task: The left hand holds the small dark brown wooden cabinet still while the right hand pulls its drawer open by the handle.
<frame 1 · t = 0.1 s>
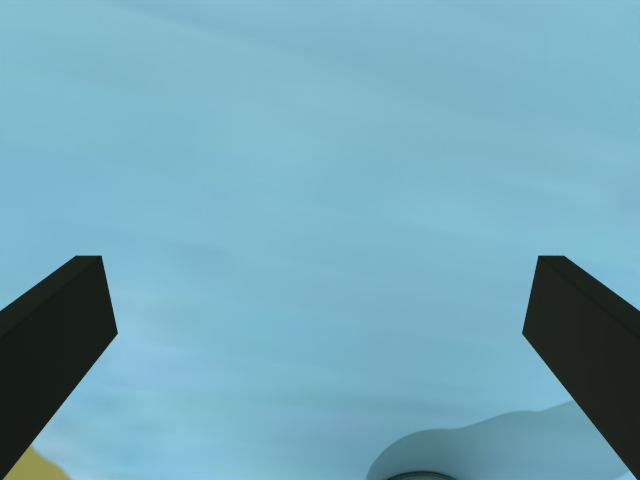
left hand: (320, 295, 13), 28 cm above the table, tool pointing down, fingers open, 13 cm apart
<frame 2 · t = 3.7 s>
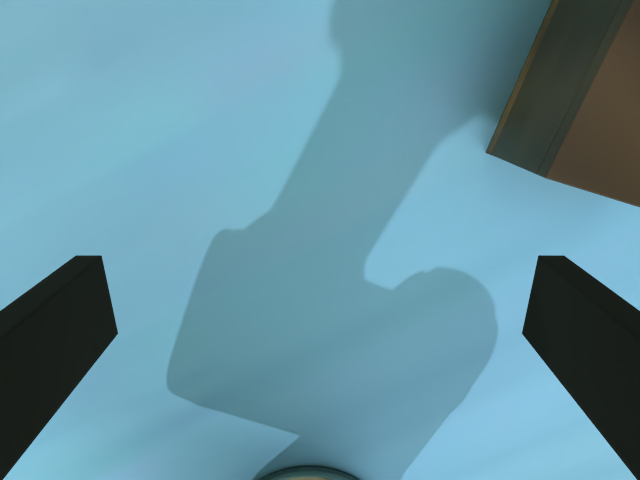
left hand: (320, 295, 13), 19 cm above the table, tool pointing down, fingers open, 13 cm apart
cabinet: (612, 56, 28), on the table
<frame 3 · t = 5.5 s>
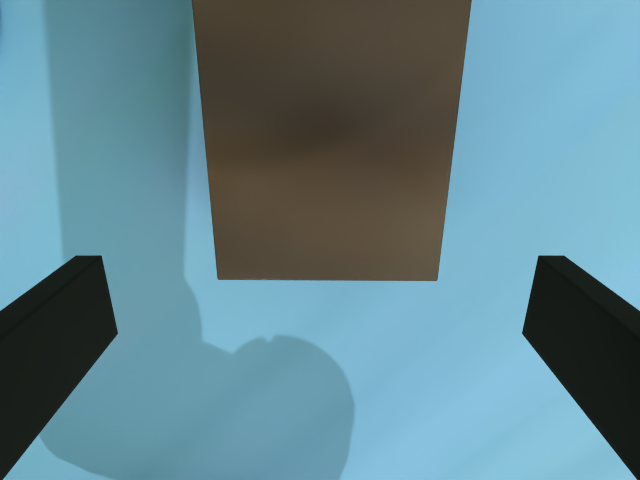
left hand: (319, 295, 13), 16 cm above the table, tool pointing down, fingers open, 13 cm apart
cabinet: (326, 96, 25), on the table
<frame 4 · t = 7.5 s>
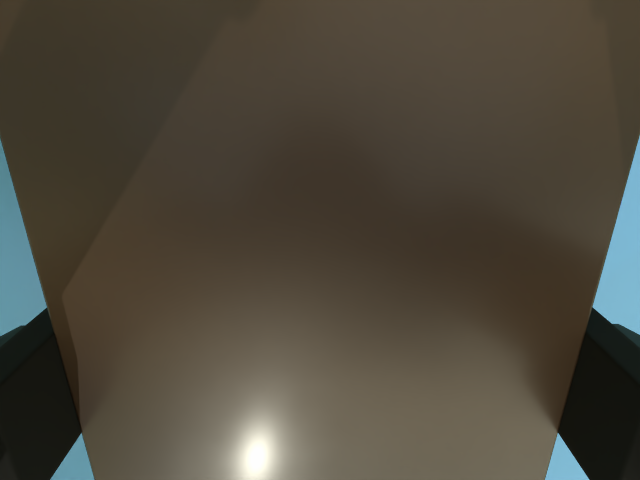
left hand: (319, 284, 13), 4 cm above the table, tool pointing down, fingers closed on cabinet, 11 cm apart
cabinet: (319, 113, 15), on the table, touching left hand
when the left hand's fingers open (4 cm above the table, at t = 12.1 s): cabinet stays where it is, on the table.
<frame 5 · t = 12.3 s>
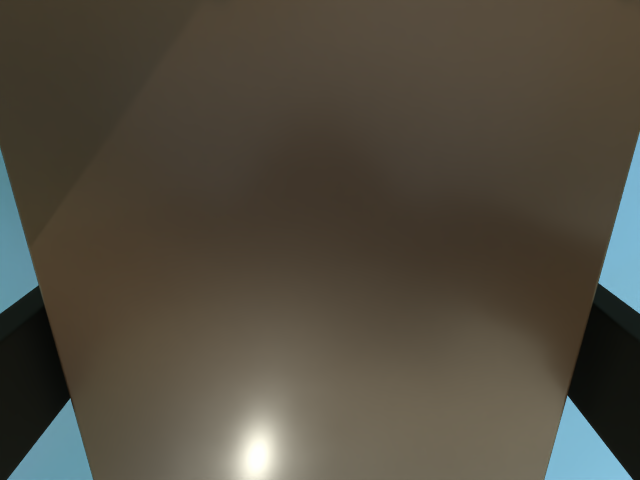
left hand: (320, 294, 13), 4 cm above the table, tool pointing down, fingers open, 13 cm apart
cabinet: (319, 115, 15), on the table
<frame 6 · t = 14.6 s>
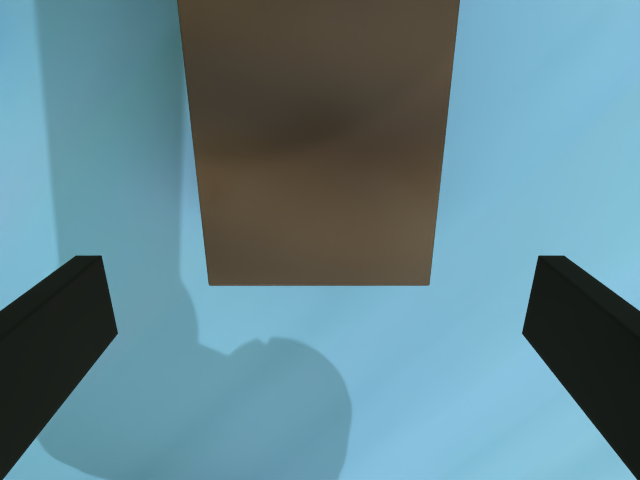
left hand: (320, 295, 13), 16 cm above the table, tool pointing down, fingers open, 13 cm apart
cabinet: (319, 100, 25), on the table
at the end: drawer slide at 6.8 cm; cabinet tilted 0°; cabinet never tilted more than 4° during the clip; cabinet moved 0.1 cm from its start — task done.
